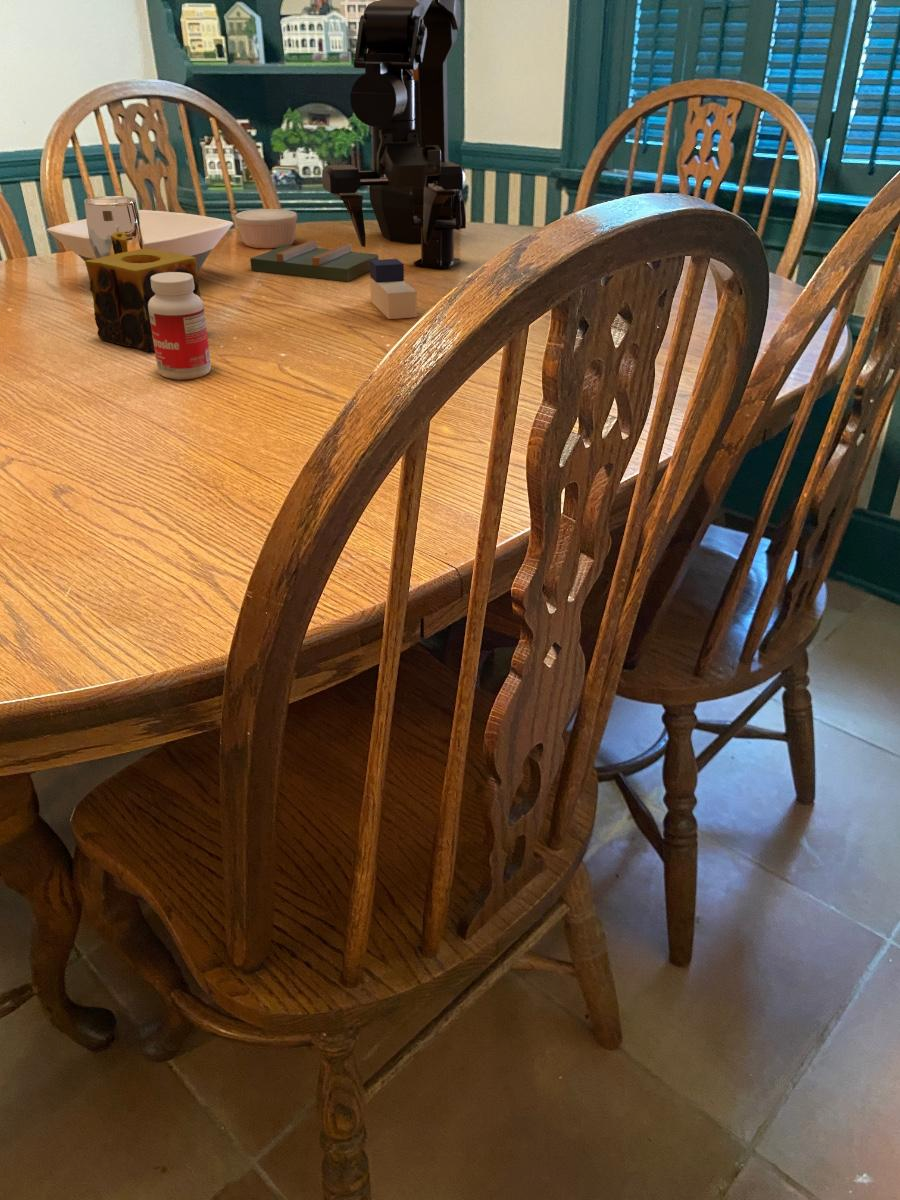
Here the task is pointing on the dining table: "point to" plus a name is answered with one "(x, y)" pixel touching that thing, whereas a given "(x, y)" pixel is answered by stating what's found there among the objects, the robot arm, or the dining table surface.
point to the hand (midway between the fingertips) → (395, 244)
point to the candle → (131, 292)
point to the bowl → (156, 234)
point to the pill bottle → (178, 327)
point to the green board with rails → (314, 262)
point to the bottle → (396, 199)
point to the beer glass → (113, 225)
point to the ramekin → (267, 227)
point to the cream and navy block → (392, 289)
